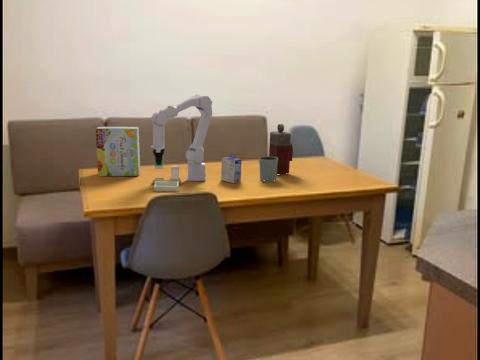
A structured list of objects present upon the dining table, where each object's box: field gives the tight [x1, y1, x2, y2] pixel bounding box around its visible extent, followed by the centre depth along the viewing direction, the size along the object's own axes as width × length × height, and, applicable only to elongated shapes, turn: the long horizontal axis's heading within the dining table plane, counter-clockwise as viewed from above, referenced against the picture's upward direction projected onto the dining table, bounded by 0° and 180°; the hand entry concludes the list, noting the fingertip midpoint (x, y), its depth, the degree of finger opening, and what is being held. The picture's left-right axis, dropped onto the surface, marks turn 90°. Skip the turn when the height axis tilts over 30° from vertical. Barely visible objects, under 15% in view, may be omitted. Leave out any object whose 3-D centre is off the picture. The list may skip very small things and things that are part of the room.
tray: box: [153, 181, 180, 192], centre depth 244 cm, size 12×11×2 cm
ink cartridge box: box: [220, 152, 242, 184], centre depth 261 cm, size 10×6×14 cm, turn 48°
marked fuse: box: [154, 156, 164, 170], centre depth 250 cm, size 4×3×8 cm
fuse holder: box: [152, 176, 182, 186], centre depth 253 cm, size 14×7×3 cm, turn 96°
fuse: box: [170, 165, 180, 179], centre depth 253 cm, size 4×3×8 cm
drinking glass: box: [258, 155, 278, 182], centre depth 266 cm, size 10×10×12 cm
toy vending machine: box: [268, 123, 294, 174], centre depth 281 cm, size 9×11×28 cm
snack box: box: [95, 126, 141, 177], centre depth 266 cm, size 22×9×26 cm, turn 95°
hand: (159, 164), depth 251 cm, fingers closed on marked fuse, 3 cm apart
